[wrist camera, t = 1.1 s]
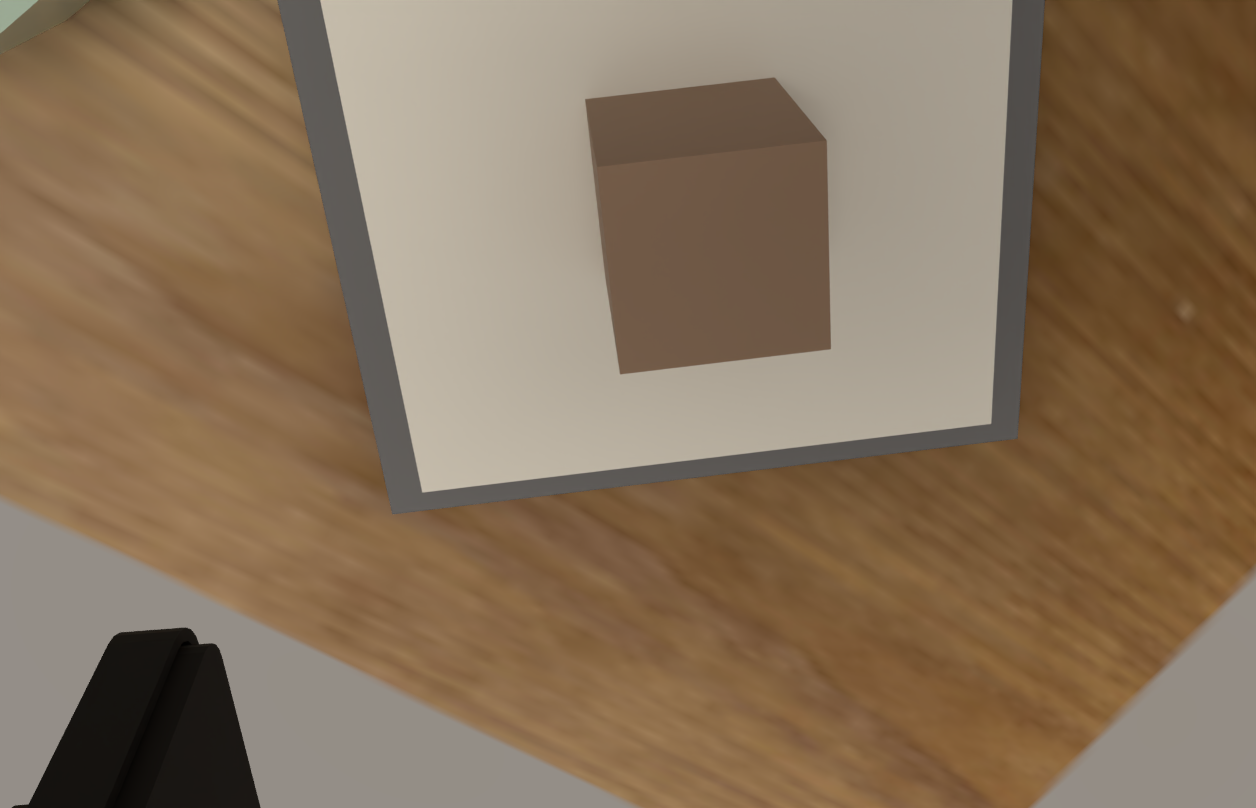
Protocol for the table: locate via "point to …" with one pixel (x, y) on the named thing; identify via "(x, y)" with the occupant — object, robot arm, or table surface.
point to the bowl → (32, 18)
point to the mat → (406, 492)
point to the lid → (677, 222)
